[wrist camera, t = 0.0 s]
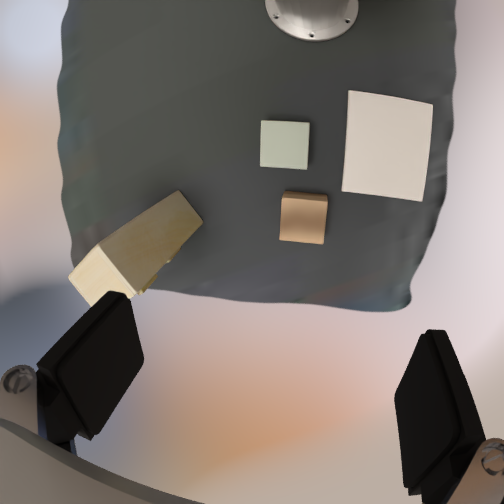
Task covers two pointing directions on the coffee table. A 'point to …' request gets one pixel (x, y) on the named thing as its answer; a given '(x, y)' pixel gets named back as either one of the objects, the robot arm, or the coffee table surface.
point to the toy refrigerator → (136, 250)
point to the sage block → (284, 144)
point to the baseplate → (386, 146)
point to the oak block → (303, 217)
